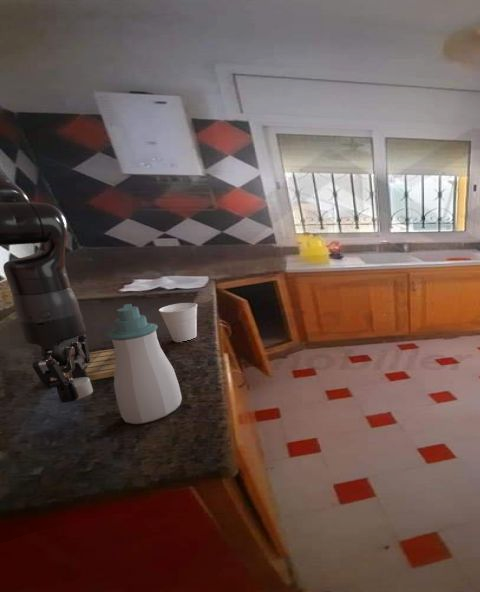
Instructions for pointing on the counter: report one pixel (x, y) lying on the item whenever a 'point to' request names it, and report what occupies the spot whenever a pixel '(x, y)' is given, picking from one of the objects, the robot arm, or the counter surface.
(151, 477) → the counter surface
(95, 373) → the board
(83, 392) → the white short cylinder
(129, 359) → the soap bottle
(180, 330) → the cup
